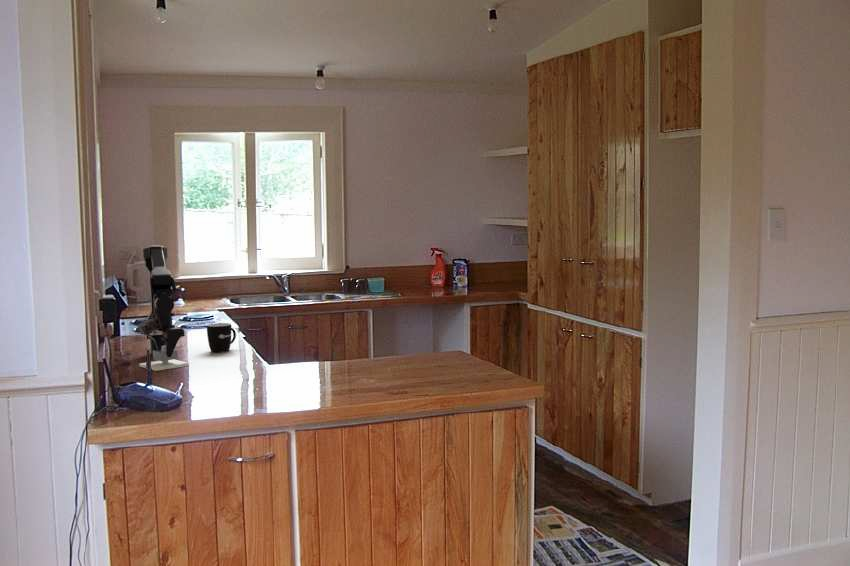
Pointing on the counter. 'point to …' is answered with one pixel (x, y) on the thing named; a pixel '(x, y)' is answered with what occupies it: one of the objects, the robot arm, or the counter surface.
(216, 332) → the mug
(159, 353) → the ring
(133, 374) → the counter surface
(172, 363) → the peg board
